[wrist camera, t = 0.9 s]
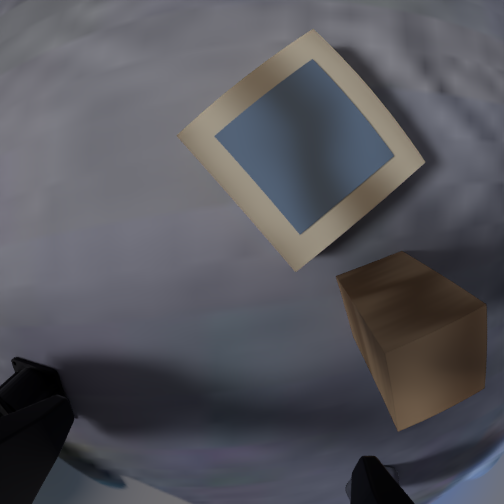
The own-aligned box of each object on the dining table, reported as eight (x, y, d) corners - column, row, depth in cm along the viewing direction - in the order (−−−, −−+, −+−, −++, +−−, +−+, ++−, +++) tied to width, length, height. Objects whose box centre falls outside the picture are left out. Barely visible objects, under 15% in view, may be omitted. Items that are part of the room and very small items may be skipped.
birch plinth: (291, 258, 20) (295, 272, 17) (189, 141, 19) (175, 135, 16) (405, 163, 19) (426, 162, 16) (307, 47, 17) (313, 28, 14)
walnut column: (353, 337, 22) (398, 431, 12) (335, 276, 21) (385, 353, 11) (414, 312, 21) (484, 388, 11) (401, 250, 20) (486, 304, 10)
